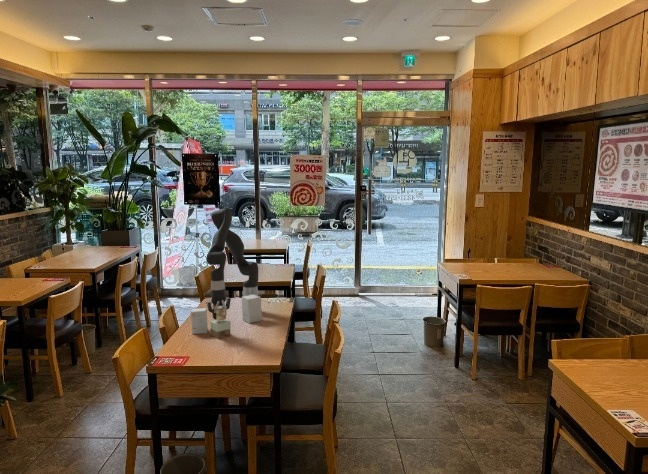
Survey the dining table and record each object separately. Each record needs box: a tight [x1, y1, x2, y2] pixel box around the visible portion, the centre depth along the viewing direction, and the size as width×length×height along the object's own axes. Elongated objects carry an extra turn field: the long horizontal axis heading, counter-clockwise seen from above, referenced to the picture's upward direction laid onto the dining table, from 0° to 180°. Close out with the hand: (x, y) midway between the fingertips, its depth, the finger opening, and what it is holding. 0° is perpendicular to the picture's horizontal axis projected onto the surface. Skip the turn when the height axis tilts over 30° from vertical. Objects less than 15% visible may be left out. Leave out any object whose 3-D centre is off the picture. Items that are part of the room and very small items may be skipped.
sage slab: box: [210, 318, 232, 332], centre depth 251 cm, size 8×8×4 cm
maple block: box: [213, 306, 227, 321], centre depth 250 cm, size 5×5×6 cm
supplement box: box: [241, 295, 263, 324], centre depth 277 cm, size 9×9×15 cm
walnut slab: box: [210, 327, 232, 339], centre depth 252 cm, size 8×8×4 cm
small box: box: [190, 307, 209, 335], centre depth 257 cm, size 8×6×13 cm
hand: (219, 317), depth 251 cm, fingers closed on maple block, 5 cm apart
